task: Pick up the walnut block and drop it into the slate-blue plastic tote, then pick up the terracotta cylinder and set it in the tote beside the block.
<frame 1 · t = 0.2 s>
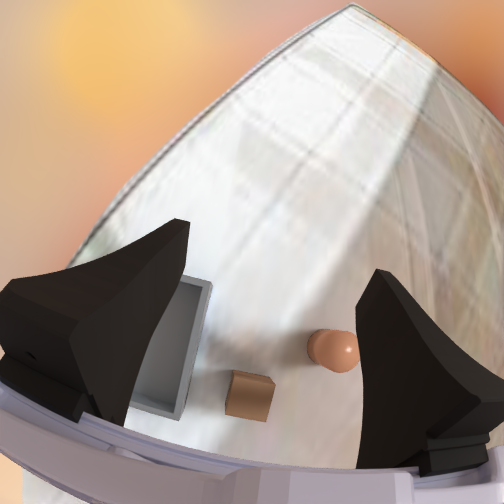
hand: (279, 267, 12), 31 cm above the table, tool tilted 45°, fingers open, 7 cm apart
tote: (148, 336, 39), on the table
terracotta cylinder: (324, 346, 41), on the table
walnut block: (247, 390, 39), on the table
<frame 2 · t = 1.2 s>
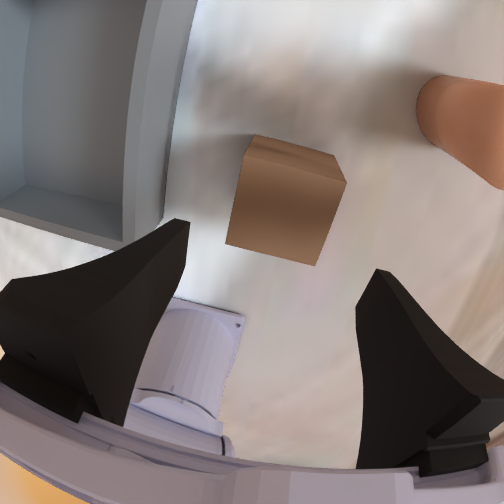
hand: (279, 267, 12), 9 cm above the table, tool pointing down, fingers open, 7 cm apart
tote: (88, 88, 17), on the table
terracotta cylinder: (449, 112, 15), on the table
walnut block: (284, 180, 20), on the table
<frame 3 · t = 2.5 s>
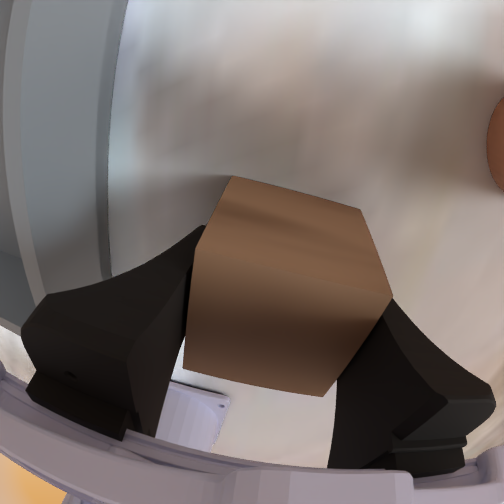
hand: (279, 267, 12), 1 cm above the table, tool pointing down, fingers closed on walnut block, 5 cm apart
tote: (3, 110, 10), on the table
walnut block: (281, 247, 13), on the table, touching gripper
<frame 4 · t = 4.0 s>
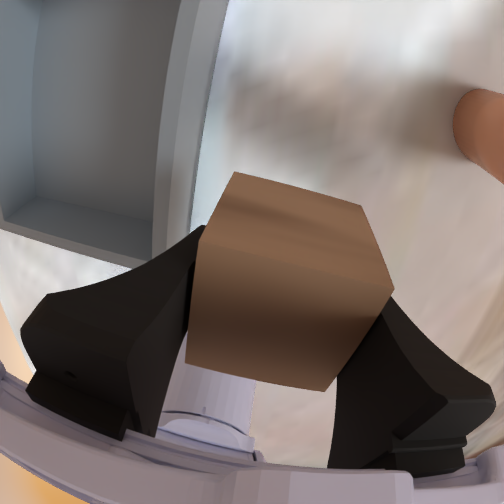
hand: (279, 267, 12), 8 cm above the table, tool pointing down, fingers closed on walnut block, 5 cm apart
tote: (106, 92, 16), on the table
terracotta cylinder: (483, 126, 14), on the table
walnut block: (282, 242, 13), point 7 cm above the table, touching gripper
when the fingers open (5 cm above the table, at t = 5.9 s): walnut block drops 2 cm, resting on tote.
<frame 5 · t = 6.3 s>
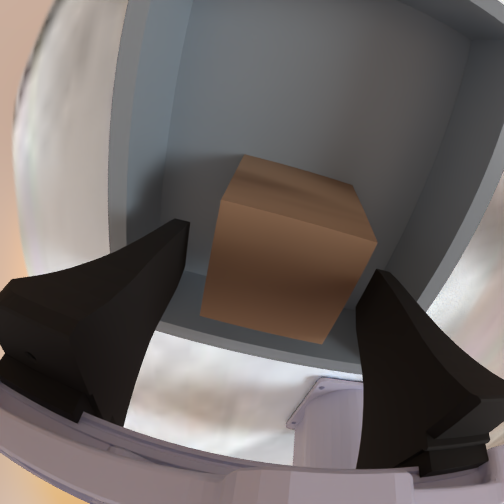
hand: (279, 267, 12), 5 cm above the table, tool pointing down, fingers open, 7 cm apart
tote: (302, 144, 14), on the table
walnut block: (284, 217, 15), point 1 cm above the table, touching tote
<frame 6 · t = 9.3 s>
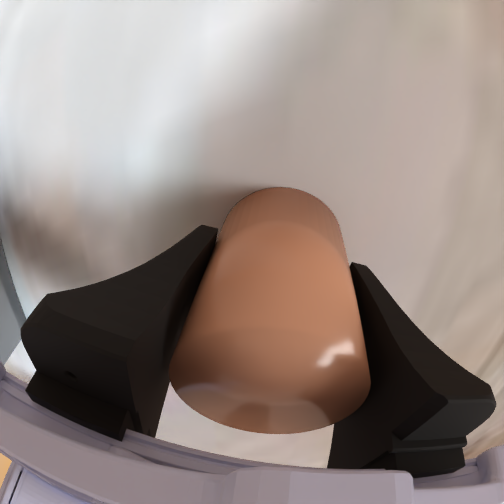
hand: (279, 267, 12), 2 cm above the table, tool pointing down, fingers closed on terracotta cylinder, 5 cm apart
terracotta cylinder: (281, 244, 13), on the table, touching gripper
when the fingers open (5 cm above the table, at t = 13.3 s): terracotta cylinder drops 2 cm, resting on tote.
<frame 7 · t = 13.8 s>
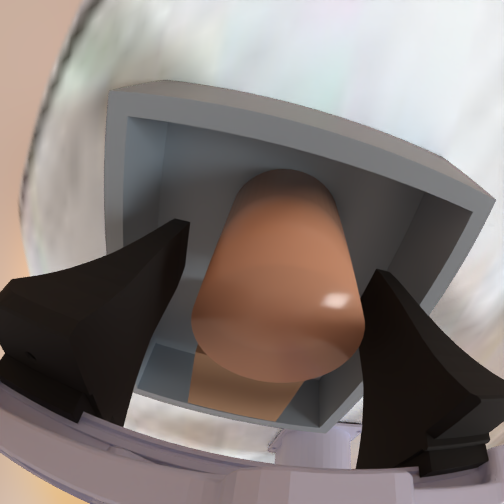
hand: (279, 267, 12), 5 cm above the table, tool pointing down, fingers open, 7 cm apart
tote: (266, 267, 17), on the table
terracotta cylinder: (284, 220, 15), point 1 cm above the table, touching tote
walnut block: (252, 322, 18), point 1 cm above the table, touching tote
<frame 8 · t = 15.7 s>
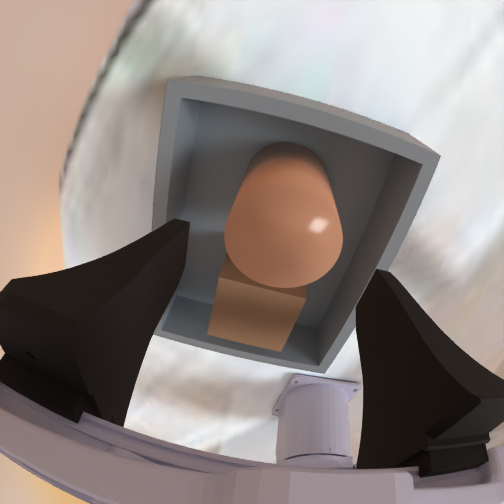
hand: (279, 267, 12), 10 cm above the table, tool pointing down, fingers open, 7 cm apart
tote: (272, 222, 22), on the table
terracotta cylinder: (286, 180, 19), point 1 cm above the table, touching tote
walnut block: (260, 269, 23), point 1 cm above the table, touching tote
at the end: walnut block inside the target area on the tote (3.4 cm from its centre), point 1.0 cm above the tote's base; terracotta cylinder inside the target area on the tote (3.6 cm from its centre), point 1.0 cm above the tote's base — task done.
